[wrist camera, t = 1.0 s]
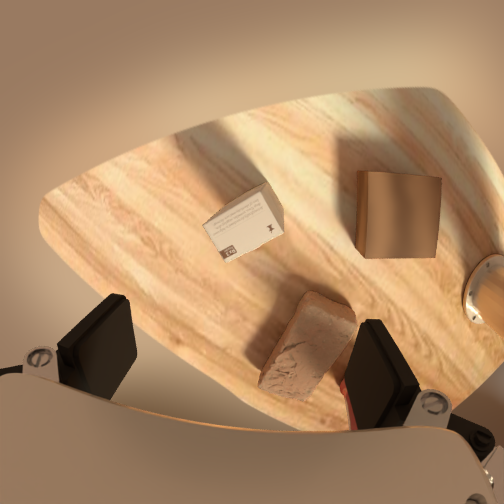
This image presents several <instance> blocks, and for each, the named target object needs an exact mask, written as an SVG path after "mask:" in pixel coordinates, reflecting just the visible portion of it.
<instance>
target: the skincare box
mask: <svg viewBox="0 0 504 504" xmlns="http://www.w3.org/2000/svg"><path fill="white" fill-rule="evenodd" d="M203 227H204V229H205V231H206V232H207V234H208V235H209V237H210V239H211V240H212V242H213V243H214V245H215V247H216V248H217V250H218V252H219V253H220V255H221V257H222V258H223V260H224V262H226V263H228V262H230V261H231V260H233V259H235V258H237V257H239V256H241V255H243V254H245V253H247V252H250V251H253V250H255V249H257V248H258V247H260V246H261V245H262V244H264V243H266V242H268V241H270V240H272V239H274V238H275V237H277V236H279V235H281V234H283V233H284V209H283V207H282V205H281V203H280V201H279V199H278V198H277V196H276V194H275V192H274V191H273V189H272V187H271V185H270V184H269V182H265V183H263V184H261V185H259V186H257V187H255V188H253V189H251V190H249V191H248V192H246V193H244V194H242V195H241V196H239V197H237V198H236V199H234V200H233V201H231V202H229V203H228V204H227V205H225V206H224V207H223V208H222V209H221V210H219V211H218V212H217V213H216V214H214V215H213V216H212V217H211V218H210V219H209V220H208V221H207V222H206V223H204V224H203Z"/></svg>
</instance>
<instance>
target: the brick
mask: <svg viewBox="0 0 504 504" xmlns="http://www.w3.org/2000/svg"><path fill="white" fill-rule="evenodd" d="M356 329H357V320H356V315H355V312H354V311H353V310H352V309H351V308H349V307H347V306H346V305H344V304H339V303H336V302H334V301H333V300H330V299H328V298H327V297H324V296H323V295H322V294H320V293H316V292H314V291H307V292H306V293H305V294H304V295H303V298H302V299H301V300H300V302H299V304H298V306H297V309H296V311H295V315H294V316H293V318H292V319H291V320H290V322H289V323H288V324H287V328H286V330H285V331H284V333H283V334H282V336H281V338H280V339H279V341H278V343H277V345H276V346H275V348H274V350H273V352H272V353H271V355H270V357H269V358H268V360H267V362H266V364H265V366H264V367H263V369H262V370H261V373H260V377H259V381H258V387H259V388H260V389H262V390H264V391H267V392H269V393H272V394H275V395H279V396H281V397H285V398H292V399H297V400H300V401H306V400H307V399H308V398H309V397H310V396H311V395H312V393H313V392H314V390H315V389H316V387H317V385H318V384H319V382H320V380H321V379H322V378H323V376H324V373H326V372H327V371H328V370H329V369H330V367H331V366H332V365H333V364H334V362H335V361H336V359H337V358H338V357H339V355H340V354H341V353H342V351H343V350H344V349H345V347H346V346H347V344H348V341H350V340H351V338H352V336H353V334H354V332H355V331H356Z"/></svg>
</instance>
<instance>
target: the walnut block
mask: <svg viewBox="0 0 504 504" xmlns="http://www.w3.org/2000/svg"><path fill="white" fill-rule="evenodd" d="M441 180H442V178H439V177H430V176H421V175H411V174H400V173H388V172H373V171H357V222H356V242H355V248H356V249H357V250H358V251H359V253H360V254H361V255H362V256H363V257H364V258H365V259H384V258H435V255H436V248H437V240H438V231H439V220H440V206H441Z"/></svg>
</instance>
